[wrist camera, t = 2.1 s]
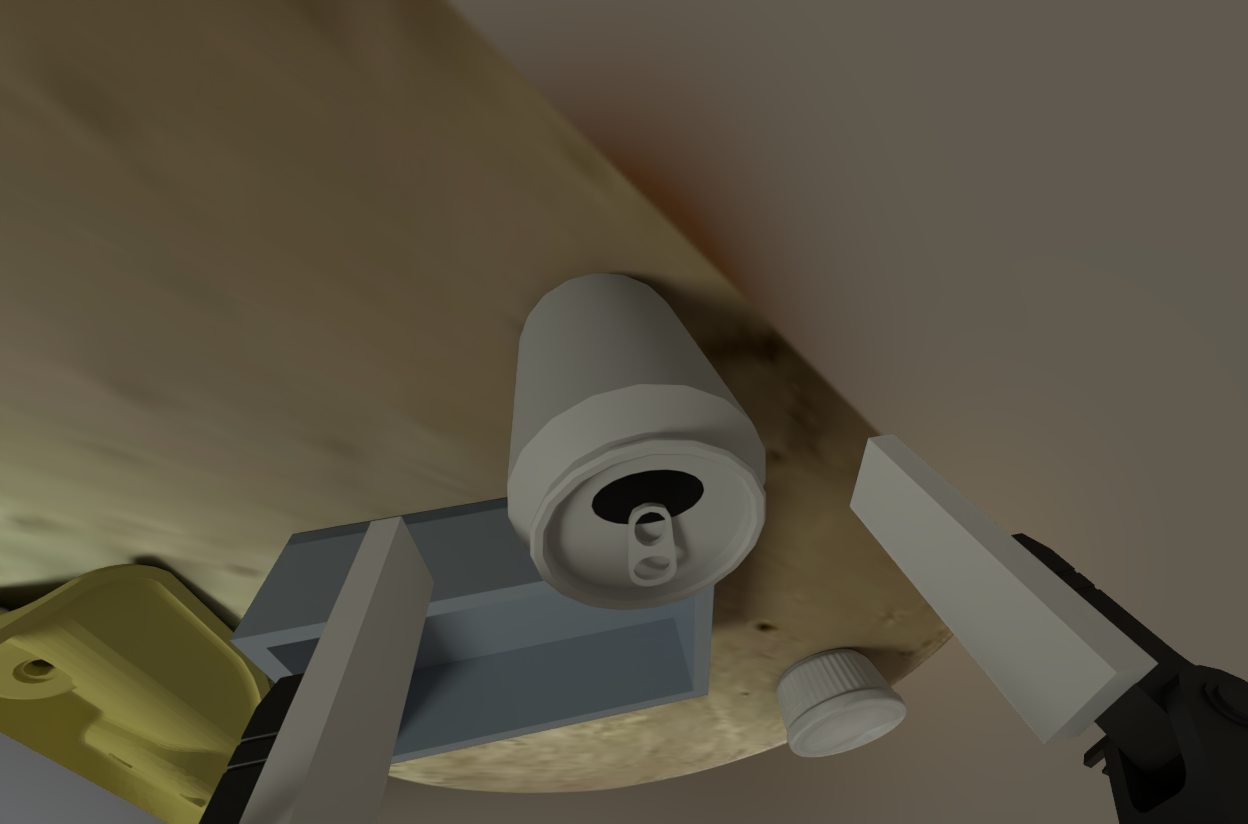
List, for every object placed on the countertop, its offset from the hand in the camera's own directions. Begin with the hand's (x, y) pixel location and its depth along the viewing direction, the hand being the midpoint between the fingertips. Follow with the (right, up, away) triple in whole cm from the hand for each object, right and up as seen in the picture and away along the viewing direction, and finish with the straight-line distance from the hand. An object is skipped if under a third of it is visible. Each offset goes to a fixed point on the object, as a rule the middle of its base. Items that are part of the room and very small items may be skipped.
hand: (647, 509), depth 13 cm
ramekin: (+19, -23, +32) cm, 44 cm away
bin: (-7, -8, +17) cm, 20 cm away
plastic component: (-31, -13, +16) cm, 37 cm away
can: (-2, +6, +9) cm, 11 cm away
